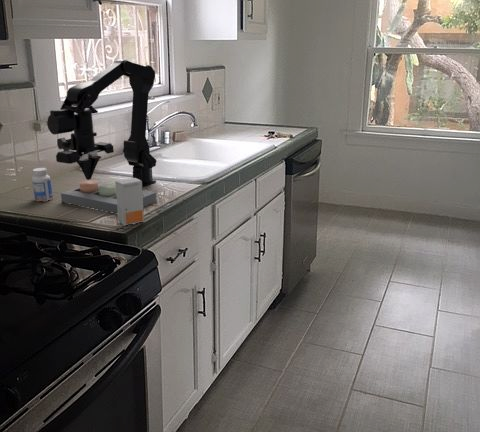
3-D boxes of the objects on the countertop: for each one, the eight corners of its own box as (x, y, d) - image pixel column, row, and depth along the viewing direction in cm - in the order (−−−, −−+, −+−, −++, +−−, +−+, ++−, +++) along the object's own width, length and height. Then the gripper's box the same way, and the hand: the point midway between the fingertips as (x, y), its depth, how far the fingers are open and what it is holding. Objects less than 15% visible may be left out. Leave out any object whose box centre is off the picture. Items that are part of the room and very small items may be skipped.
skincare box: (124, 227, 143) (121, 184, 139) (118, 222, 146) (114, 180, 142) (145, 222, 147) (142, 180, 143) (138, 218, 150) (135, 177, 146)
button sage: (108, 193, 167) (107, 183, 166) (121, 195, 164) (121, 185, 163) (95, 197, 163) (94, 187, 161) (109, 200, 160) (108, 190, 159)
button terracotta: (89, 189, 171) (88, 179, 170) (102, 191, 168) (101, 182, 167) (76, 193, 166) (75, 184, 165) (89, 196, 164) (88, 186, 163)
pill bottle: (47, 195, 171) (43, 166, 168) (56, 198, 168) (52, 168, 164) (31, 199, 167) (27, 169, 164) (40, 203, 164) (36, 172, 160)
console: (97, 190, 176) (96, 181, 175) (156, 201, 164) (155, 192, 163) (61, 202, 164) (60, 193, 163) (123, 215, 152) (122, 205, 151)
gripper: (87, 123, 172) (91, 170, 177) (40, 132, 157) (46, 183, 162) (112, 125, 167) (116, 174, 172) (66, 135, 152) (72, 188, 157)
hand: (88, 179), depth 166 cm, fingers closed
